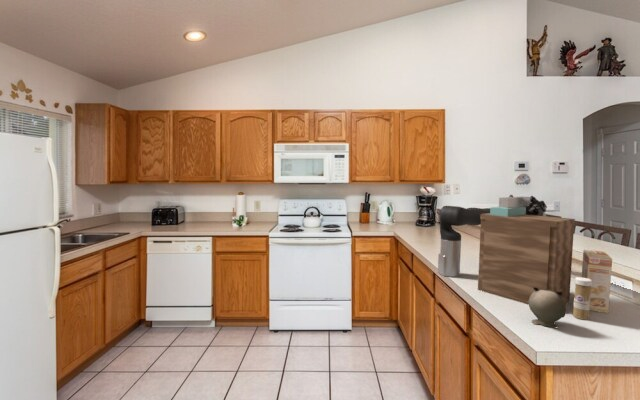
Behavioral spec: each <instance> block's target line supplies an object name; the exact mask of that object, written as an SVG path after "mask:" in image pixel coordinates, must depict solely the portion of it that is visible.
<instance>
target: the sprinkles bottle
mask: <svg viewBox="0 0 640 400" xmlns="http://www.w3.org/2000/svg"><path fill="white" fill-rule="evenodd" d="M574 284H575V287H574V297H573V313H572V316H573V317H574V318H576V319H579V320H585V321H586V320H590V311H591V310H590V297H591V286H592V280H591V279H588V278H583V277H582V276H579V277H578V276H577V277H576V276H575V279H574Z"/></svg>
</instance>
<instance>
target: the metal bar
mask: <svg viewBox="0 0 640 400" xmlns="http://www.w3.org/2000/svg"><path fill="white" fill-rule="evenodd" d="M530 197H531V196H513V197H509V196H506V197H505V196H504V197H499V198H498V207H499V208H515V207H526V206H530V203H531V201H530Z"/></svg>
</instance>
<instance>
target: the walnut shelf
mask: <svg viewBox="0 0 640 400" xmlns="http://www.w3.org/2000/svg"><path fill="white" fill-rule="evenodd" d="M480 219H481V224H480V231H479V234H480V235H479V253H478V254H479V255H478V257H479V258H478V259H479V260H478V275H477V277H478V278H477V279H478V280H477V290H479V291H481V290H482V292H483V291H484V292H485V293H487V294H491V295H495V296H498V297H501V298H503V299H504V298H505V299H509V300H512V301H515V302H519V303H522V304H524V305H525V304H526V305H529V298H530V296H531V294H532V293H533V292H534V291H535V290H534V289H533V287H536V288H538V290H550V291H553V292H562V295H561V296H562V297H563V298H564V300H565V302H566V305H567V304H569V303H570V295H571V293H570V292H571V282H572V281H571V279H572V267H573V266H572V263H573V262H572V261H573V246H574V233H575V225H576V222H575V221H576V219H575V218H570V217H569V218H568V217H559V216H557V217H556V216H548V215H546V216H537V215H526V214H525V215H516V216H508V217H507V216H497V215H490V213H486V214H480Z"/></svg>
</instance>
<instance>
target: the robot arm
mask: <svg viewBox="0 0 640 400" xmlns="http://www.w3.org/2000/svg"><path fill="white" fill-rule="evenodd" d="M508 197H514V195H513V194H509V196H508ZM529 197H530V201H531V203H530V206H526V215H537V216H547V214H546V211H547V208H548V206H547V205H546V203H545V201H544V200H539V199H537V198H536V197H535V196H533V195H531V196H529ZM486 213H490V207H489V208H481V207H468V208H465V207H461V206H458V205H457V206H454V205H444V206H442V207H441V209H440V212H439V235H440V248H439V249H440V253H438V258H437V259H438V260H437V266H438V267H437V273H438V274H440V275H441V276H443V277H453V278H454V277H456V278H457V277H460V275H461V253H462V252H461V251H462V234H461V233H460V232H458V231H457V230H455V229H454V228H453V227H452V226H456V227H460V226H465V225H467V226H481V219H480V214H486Z"/></svg>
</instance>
